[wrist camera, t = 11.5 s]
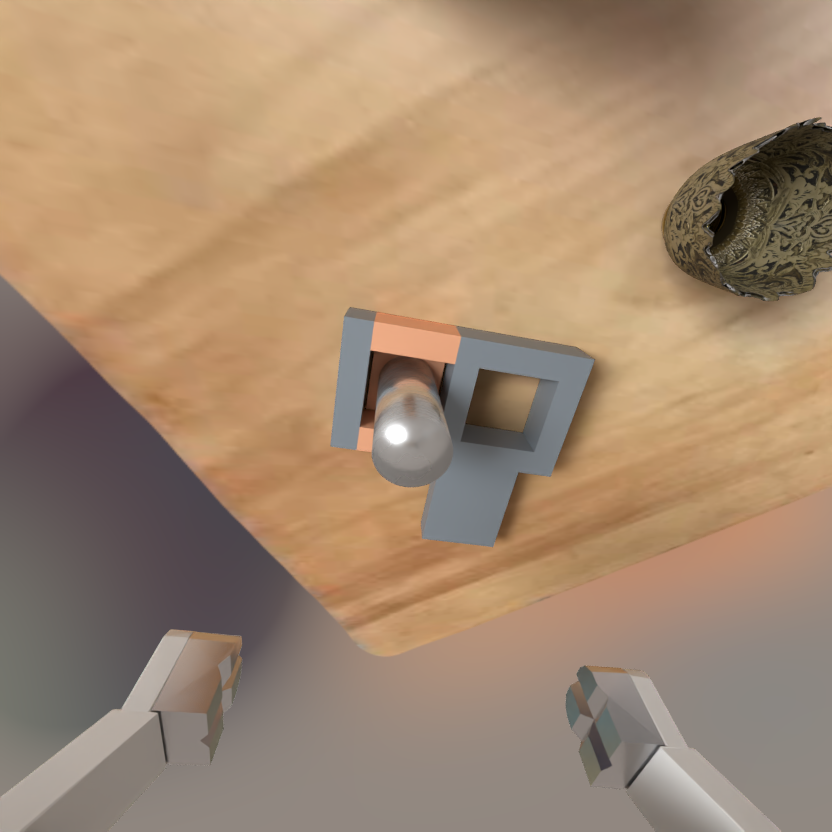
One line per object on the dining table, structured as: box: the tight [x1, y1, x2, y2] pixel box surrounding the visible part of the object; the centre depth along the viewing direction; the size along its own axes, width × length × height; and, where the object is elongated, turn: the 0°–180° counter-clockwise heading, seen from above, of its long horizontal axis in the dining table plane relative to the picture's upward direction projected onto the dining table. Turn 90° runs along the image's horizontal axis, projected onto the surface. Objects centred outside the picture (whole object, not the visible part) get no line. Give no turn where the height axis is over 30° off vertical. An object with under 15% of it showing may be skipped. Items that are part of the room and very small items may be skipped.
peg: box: [372, 356, 453, 487], centre depth 24 cm, size 4×4×10 cm
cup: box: [661, 117, 832, 301], centre depth 22 cm, size 8×7×8 cm
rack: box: [331, 307, 595, 547], centre depth 30 cm, size 16×17×3 cm
